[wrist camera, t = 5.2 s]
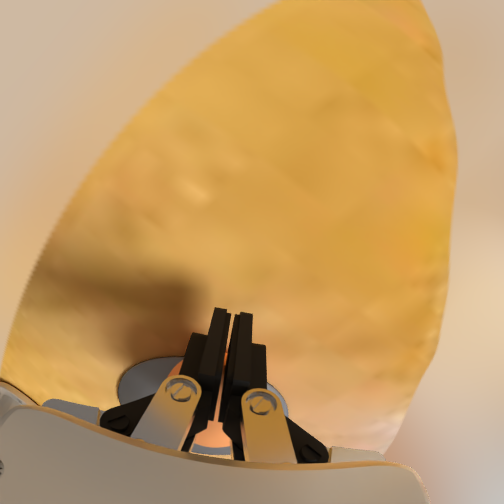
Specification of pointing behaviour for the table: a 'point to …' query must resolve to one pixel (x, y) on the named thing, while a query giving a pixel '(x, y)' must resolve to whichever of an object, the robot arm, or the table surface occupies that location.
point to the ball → (214, 429)
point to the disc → (150, 379)
